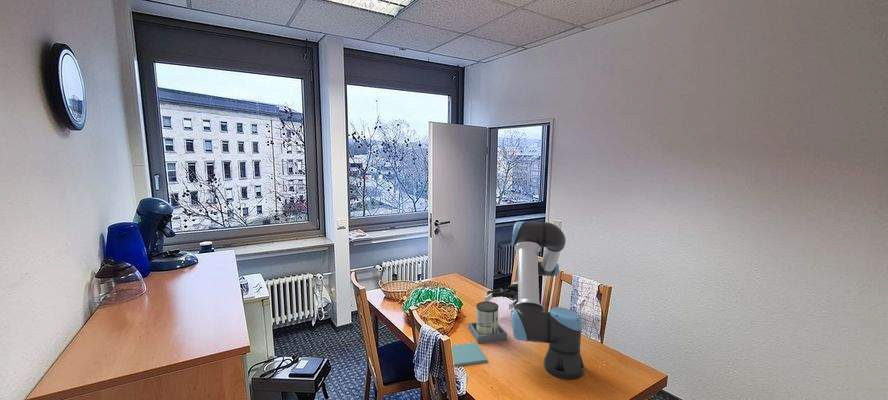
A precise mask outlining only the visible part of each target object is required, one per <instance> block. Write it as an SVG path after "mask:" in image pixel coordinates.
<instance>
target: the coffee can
mask: <svg viewBox="0 0 888 400" xmlns="http://www.w3.org/2000/svg"><path fill="white" fill-rule="evenodd" d="M475 306H476V322H477V329H476V332H477V333H478V335H488V334H496V333H499V332H498V323H499V307H500V306H499V304H497V303H496V302H493V301H490V300H489V301H485V300H483V301H479V302H478V303H476V305H475Z"/></svg>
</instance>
